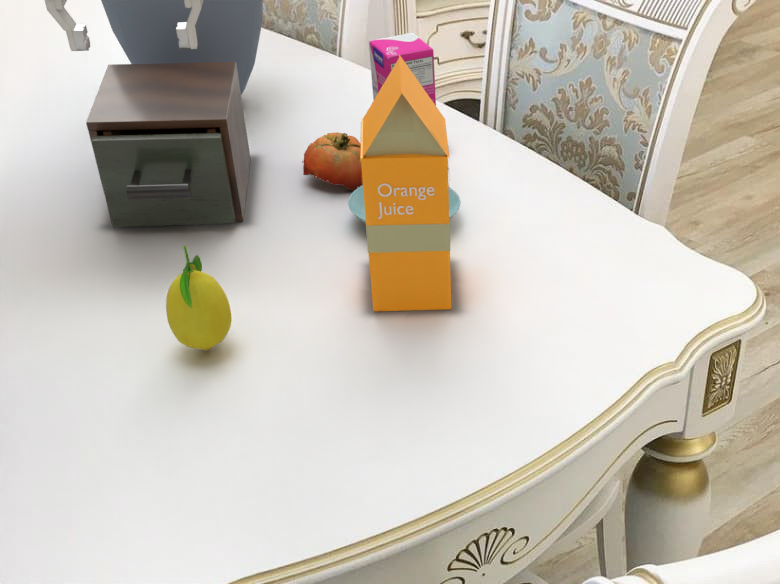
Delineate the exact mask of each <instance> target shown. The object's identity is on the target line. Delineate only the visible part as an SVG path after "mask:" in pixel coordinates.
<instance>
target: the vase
mask: <svg viewBox="0 0 780 584" xmlns="http://www.w3.org/2000/svg"><path fill="white" fill-rule="evenodd" d="M100 1H101V4H102V7H103V9H104V12H105V15H106V17H107V20H108V22H109V25H110V28H111V30H112V31H111V32H112V33H113V35H114V36H115V38H116V40H117V41H118V43H119V45H120V47H121V48H122V50H123V52H124V54H125V55H126V57H127V59H128V61H129V64H162V63H213V62H236V65H237V72H238V78H239V85H240V91H241V96H242V95H243V94H244V91H245V89H246V87H247V84H248V82H249V79H250V77H251V75H252V72H253V70H254V67H255V64H256V58H257V52H258V49H259V48H258V47H259V43H260V42H259V41H260V36H261V31H262V25H263V19H264V16H263V12H264V11H263V8H264V5H263V4H264V2H263V1H264V0H203V4H202V8H201V11H200V14H199V16H198V19H197V22H196V24H195V30H196V36H197V49H180V48H179V43H178V42H179V39H178V37H177V32H176V27H177V24H178V23H179V22H187V20H188V17H189V14H190V11H191V8H192V7H191V8H186V7H185V3H184V0H100Z"/></svg>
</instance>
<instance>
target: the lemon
mask: <svg viewBox="0 0 780 584" xmlns="http://www.w3.org/2000/svg"><path fill="white" fill-rule="evenodd" d="M183 251H184V255H185V262H186V263H185V266H184V267H183V269H182V272H181V273H179V274H178V275H177V276H176V277H175V278H174V280H173V281H172V282H171V284H170V285H169V288H168V290H167V293H166V299H165V301H166V303H165V310H166V318H167V319H166V320H167V323H168V326H169V329H170V331H171V332H172V334H173V336H174V337H175V338H176V340H177V341H178V342H179V343H180V344H182V345H183V346H185V347H188V348H192V349H196V350H202V351H210V350H211V349H212V348H213V347H215V346H217V345H218V344H220V343H222V341H223V340H224V339H225V338H226V337H227V335H228V334H229V331H230V330H231V329H230V328H231V326H232V310H231V305H230V302H229V298H228V296H227V294H226V292H225V291H224V289H223V287H222V286H221V284H220V283H219V281H217V279H216V278H214V276H212V275H210V274H208V273H206V272H204V271H202V270H203V264H202V259H201V257H200V256H199V254H197V255H195V256H194V258H193V259H192V261H190V256H189V252H188V247H187V246H186V245H183Z"/></svg>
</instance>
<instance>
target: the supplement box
mask: <svg viewBox="0 0 780 584" xmlns="http://www.w3.org/2000/svg"><path fill="white" fill-rule="evenodd" d="M368 50H369V61H370V62H369V63H370V73H371V75H370V76H371V88H372V97H373V98H372V99H373V101H374V99H375V98H376V96H377V94H378V93H379V91H380V89H381V87H382V86H383V84H384V82H385V81H386V79H387V77H388V76H389V74H390V72H391V71H392V69H393V67H394V66H395V64H396V62H397V60H398V59H399V55H400V56H401V57H402V59H403V60H404V62H405V63H406V65H407V66H408V67H409V69H410V70H411V72H412V73H413V74H414V76H415V77H416V79H417V80H418V81H419V83H420V84H421V86H422V87H423V89H424V90H425V91H426V93H427V94H428V96H429V97H430V98H431V100H432V101H433V103H434V104H435V105H436V106H437V100H436V96H437V95H436V78H435V75H436V74H435V56H434V55H435V53H434V48H433V47H431V46H430V45H429V44H427V42H425V41H424V40H423V39H421V38H420V37H419V36H418V35H417V34H416V33H414V32H407V33H403V34H398V35H393V36H387V37H382V38H375V39H370V40H368Z"/></svg>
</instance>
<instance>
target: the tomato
mask: <svg viewBox="0 0 780 584" xmlns="http://www.w3.org/2000/svg"><path fill="white" fill-rule="evenodd" d="M360 145H361V141H359V140H358V138H357V137H355V136H353V135H348V133H347V132H343V133H342V132H338V131H337V132H328V133H326V134H323V135H322V136H320V137H317V138H316V139H315V140H314V141H312V142H311V143H309V144H308V146H307V148H306V150H305V151H304V152H303V160H302V161H301V162H302V163H303V168H302V169H303V176H309V175H310V176H313V177H314V178H316V179H317V180H319V179H320V181H321V182H323V183H326V182H328V183H329V184H331V185H332V186H335V185H336V186H343V187H344V188H346V189H348V190H350V191H355V190H356V189H357V188H359V187H360V186H362V185H363V180H362V168H361V161H360Z"/></svg>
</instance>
